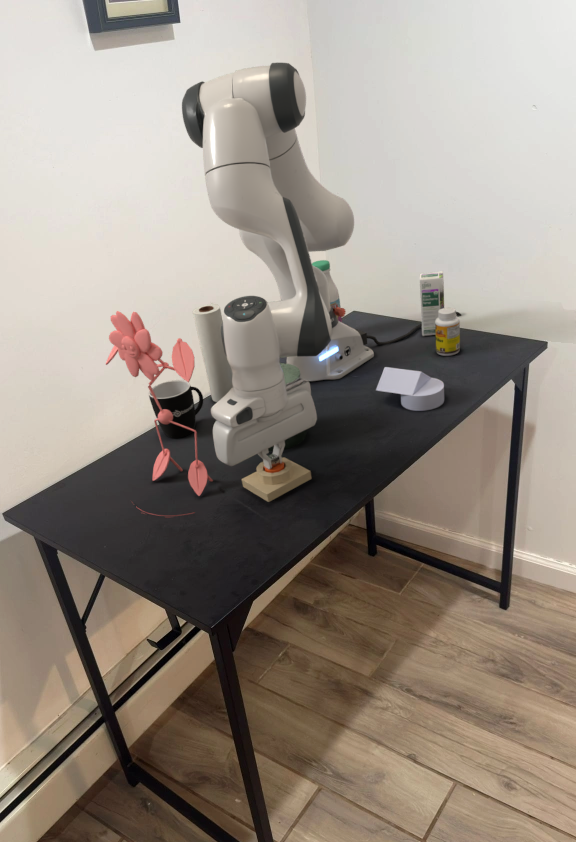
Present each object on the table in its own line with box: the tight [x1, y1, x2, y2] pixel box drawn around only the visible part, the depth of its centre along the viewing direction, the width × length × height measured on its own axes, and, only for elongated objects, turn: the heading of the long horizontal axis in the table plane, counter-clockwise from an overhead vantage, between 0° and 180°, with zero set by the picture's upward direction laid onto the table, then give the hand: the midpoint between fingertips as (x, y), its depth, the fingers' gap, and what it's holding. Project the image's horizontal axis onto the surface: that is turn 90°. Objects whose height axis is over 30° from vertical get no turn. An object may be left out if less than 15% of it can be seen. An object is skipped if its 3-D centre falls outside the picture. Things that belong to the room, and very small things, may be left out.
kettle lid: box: [280, 362, 300, 384], centre depth 139 cm, size 12×12×5 cm
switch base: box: [241, 457, 313, 503], centre depth 132 cm, size 10×8×4 cm
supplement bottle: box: [435, 307, 461, 357], centre depth 169 cm, size 6×6×10 cm
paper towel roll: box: [192, 301, 233, 403], centre depth 163 cm, size 7×6×21 cm
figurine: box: [105, 310, 214, 519], centre depth 126 cm, size 15×26×35 cm, turn 48°
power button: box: [264, 462, 285, 473], centre depth 131 cm, size 4×4×2 cm
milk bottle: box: [312, 259, 343, 323], centre depth 184 cm, size 8×8×20 cm
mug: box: [148, 379, 204, 439], centre depth 155 cm, size 12×9×10 cm
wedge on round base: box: [375, 366, 445, 412], centre depth 152 cm, size 9×7×13 cm
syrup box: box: [419, 270, 445, 337], centre depth 179 cm, size 6×6×14 cm
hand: (273, 465), depth 130 cm, fingers closed, pressing on power button
